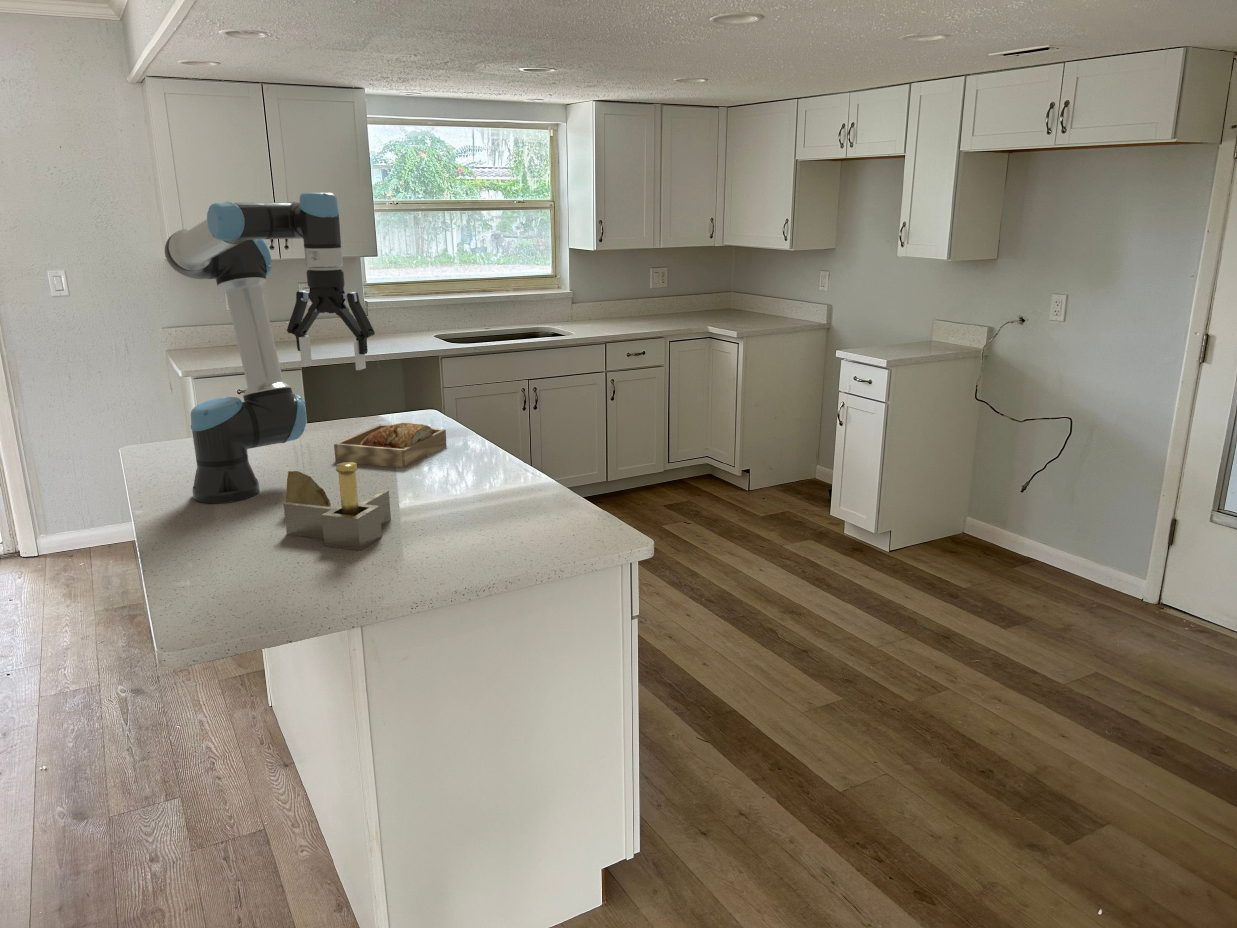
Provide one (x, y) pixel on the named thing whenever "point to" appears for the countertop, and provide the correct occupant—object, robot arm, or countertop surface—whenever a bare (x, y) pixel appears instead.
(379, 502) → the hinge
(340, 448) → the bread crate
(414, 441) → the bread
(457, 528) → the countertop surface
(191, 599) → the countertop surface
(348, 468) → the hinge pin
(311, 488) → the rock
